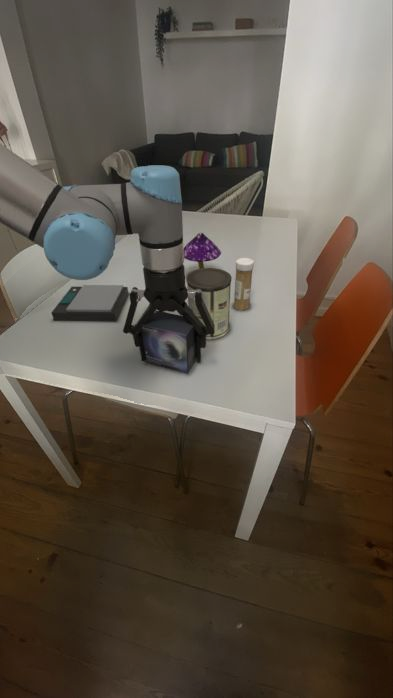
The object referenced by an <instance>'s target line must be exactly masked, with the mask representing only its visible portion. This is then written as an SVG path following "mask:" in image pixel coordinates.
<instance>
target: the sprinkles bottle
mask: <svg viewBox="0 0 393 698" xmlns="http://www.w3.org/2000/svg"><path fill="white" fill-rule="evenodd" d="M254 266H255V262H254V260H253V259H251V258H249V257H240V258H238V259H236V261H235V278H234V294H233V295H234V299H233V308H235V309H236V310H238V311H245V310H248V309H249V308H250V307H251V305H250V300H251V292H252V278H253V269H254Z"/></svg>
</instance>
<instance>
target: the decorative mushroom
mask: <svg viewBox="0 0 393 698" xmlns="http://www.w3.org/2000/svg"><path fill="white" fill-rule="evenodd" d="M183 247H184V260H187V261H190V262H197V264H198V265H197V266H198V269H203V268H205V264H204V262H205V263H206V262H210V261H214V260H215V261H216V260H217V259H218V258H219V257H220V256H221V254H222V251H221V250H220V248H219V247H218V246H217V245H216V243H214V242H213V241H212V240H211V239H210V238H209V237H207V235H205V234H204V232H198V233H197V234H196V235H195V236H194V237H193V238H191V240H190V241H189V242H188V243H186V245H184V246H183Z"/></svg>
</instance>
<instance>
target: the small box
mask: <svg viewBox="0 0 393 698" xmlns="http://www.w3.org/2000/svg"><path fill="white" fill-rule="evenodd" d="M140 327H141V334H142V341H143V347H144V354H145V361H144V362H145V363H147V364H151V365H154V366H158V367H162V368H166V369H170V370H173V371H177V372H181V373H183V374H188V373H190V371H191V370H192V368H193V366H194V365H195V363H196V362H197V339H196V338H197V332H196V331H195V329H194V328H193V325H190V324H189V323H188V321H187V320H186V319H185V318H184V317H183V316H182V315H180V314H177V313H176V314H175V313H172V312H167V311H164V312H159V310H156V311H155V312H154V313H153V315H151V317H150V318H149V320H148V321H147V323H146V324H145V325H140Z"/></svg>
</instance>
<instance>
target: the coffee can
mask: <svg viewBox="0 0 393 698" xmlns="http://www.w3.org/2000/svg"><path fill="white" fill-rule="evenodd" d="M185 281H186V284H187V285H186V288H187V290H196V288H198V287H199V288H201V289H202V298H203V301H204V303H205V305H206V307H207V310H208V312H209V314H210V316H211V318H212V321H213V323H214V325H215V333H214V334H213V335H210V334H208V335H207V336H206V340H216V339H219V338H222V337H224V336H226V334H227V333H229V329H230V308H231V307H230V304H231V287H232V286H231V283H232V275H231V274H230V272H228V271H226V270H224V269H221V268H215V267H204V268H203V269H199V268H197V269H195V270H192V271H190V272H189V273H187V275H186V276H185ZM187 305H188V307H189V308H190V309H191V310H192V312H193V313H194V314H195V315H196V316H197V317H198V319H199V320H200V321H201V322H202V323H203V325H204V326H205V324H204V322H203V320H202V318H201V316H200V313H199V311H198V309H197V307H196V303H195V302H193V301H192V300H191V298H190V297H187Z"/></svg>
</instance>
